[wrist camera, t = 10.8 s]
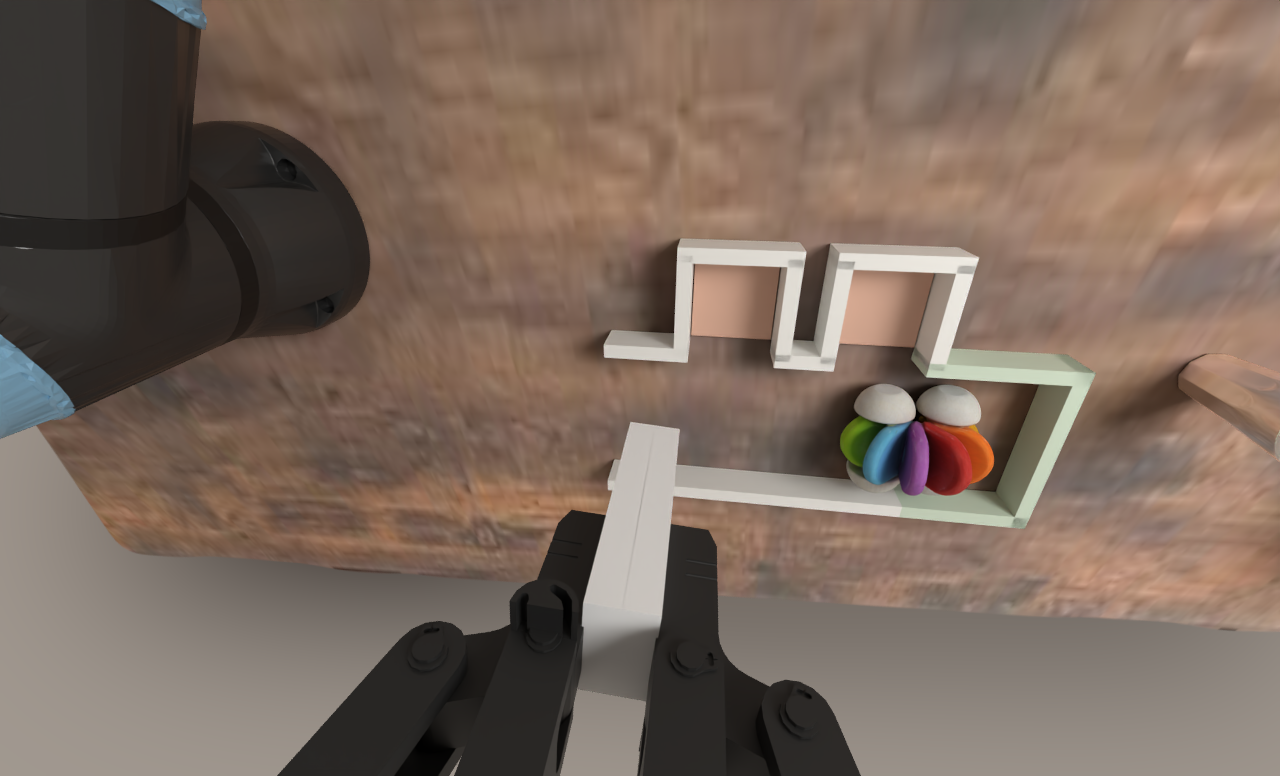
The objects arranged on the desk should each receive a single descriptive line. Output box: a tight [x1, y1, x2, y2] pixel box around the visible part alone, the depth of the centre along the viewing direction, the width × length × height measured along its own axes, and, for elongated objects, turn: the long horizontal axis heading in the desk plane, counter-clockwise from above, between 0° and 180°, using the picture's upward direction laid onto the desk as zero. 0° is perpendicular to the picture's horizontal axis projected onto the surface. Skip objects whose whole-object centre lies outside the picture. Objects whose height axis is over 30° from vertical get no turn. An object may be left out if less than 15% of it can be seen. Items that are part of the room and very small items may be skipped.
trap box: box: [604, 238, 1096, 529], centre depth 37 cm, size 32×20×3 cm, turn 90°
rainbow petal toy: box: [840, 384, 994, 496], centre depth 36 cm, size 8×10×7 cm
